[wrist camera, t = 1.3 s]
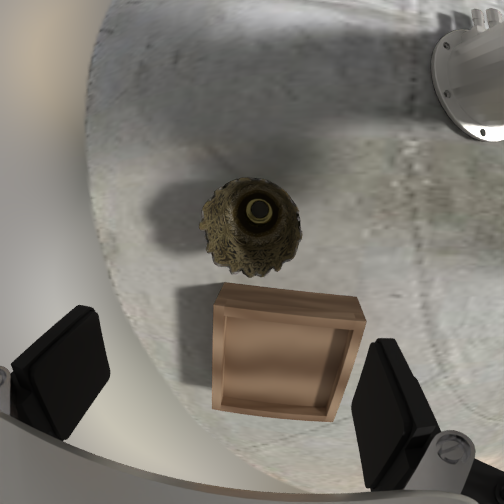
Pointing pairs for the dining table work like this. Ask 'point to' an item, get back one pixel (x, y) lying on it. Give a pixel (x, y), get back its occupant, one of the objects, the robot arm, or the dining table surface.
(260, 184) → the cup
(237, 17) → the dining table surface
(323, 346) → the shallow wooden tray
